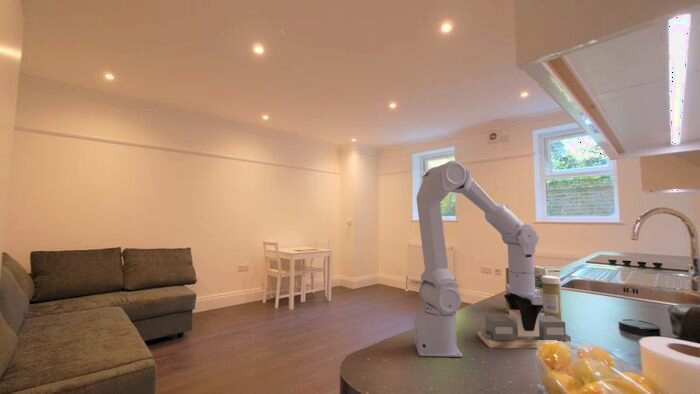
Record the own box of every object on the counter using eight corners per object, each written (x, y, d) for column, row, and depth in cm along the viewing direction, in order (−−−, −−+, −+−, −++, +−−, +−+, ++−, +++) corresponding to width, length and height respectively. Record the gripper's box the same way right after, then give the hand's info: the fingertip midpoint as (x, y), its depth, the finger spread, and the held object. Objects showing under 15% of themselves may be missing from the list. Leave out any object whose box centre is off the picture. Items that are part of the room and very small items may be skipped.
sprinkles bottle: (565, 323, 92) (562, 276, 93) (557, 326, 89) (555, 278, 90) (548, 319, 95) (545, 274, 96) (540, 321, 93) (538, 276, 94)
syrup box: (534, 308, 107) (532, 265, 109) (550, 307, 108) (547, 265, 109) (546, 313, 102) (544, 268, 103) (563, 312, 102) (560, 267, 104)
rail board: (489, 347, 74) (488, 323, 74) (477, 335, 82) (477, 313, 82) (577, 349, 73) (575, 324, 73) (556, 336, 81) (555, 314, 81)
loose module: (518, 336, 75) (517, 314, 76) (509, 329, 80) (508, 309, 80) (539, 336, 75) (538, 314, 75) (529, 330, 80) (528, 309, 80)
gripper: (554, 276, 71) (558, 338, 70) (523, 267, 86) (525, 318, 85) (523, 276, 72) (526, 337, 70) (497, 267, 86) (499, 317, 85)
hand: (523, 327), depth 78 cm, fingers closed on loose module, 4 cm apart
